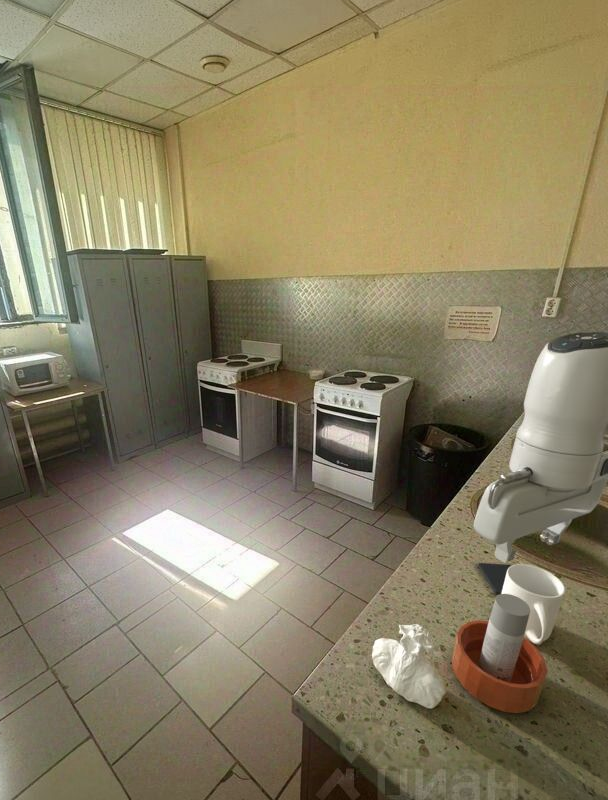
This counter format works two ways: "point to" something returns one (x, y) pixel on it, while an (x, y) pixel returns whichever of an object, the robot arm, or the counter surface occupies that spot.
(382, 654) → the white plastic bag
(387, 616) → the counter surface
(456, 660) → the bowl
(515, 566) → the mug
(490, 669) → the container
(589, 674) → the counter surface
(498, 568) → the mat
